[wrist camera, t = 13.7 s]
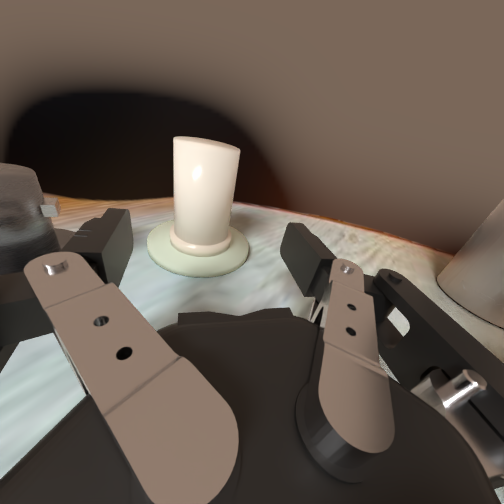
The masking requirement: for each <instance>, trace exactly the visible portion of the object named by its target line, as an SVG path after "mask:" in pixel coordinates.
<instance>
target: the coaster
mask: <svg viewBox="0 0 504 504" xmlns="http://www.w3.org/2000/svg"><path fill="white" fill-rule="evenodd" d="M173 224H174V220H171V221H168V222H165V223H162V224H160V225H158V226H157V227H155V228H154V229H153V230H152V231H151V232H150V233H149V235H148V238H147V247H148V253H149V256H150V257H151V259H152V260H153V261H154V262H155V263H156V264H157V265H159V266H160V267H162V268H163V269H165V270H167V271H170V272H172V273H175V274H178V275H183V276H188V277H199V278H205V277H216V276H221V275H225V274H228V273H230V272H233V271H235V270H236V269H238V268H239V267H240V266H242V265H243V263H244V262H245V261H246V258H247V254H248V250H249V244H248V241H247V239H246V238H245V236H244V235H243V234H242V233H241V232H239V231H238V230H236V229H235V228H233V227H231V226H229V230H230V231H231V235H232V236H231V242H230V247H229V248H228V250H227V251H225V252H224V253H222V254H220V255H216V256H212V257H195V256H190V255H186V254H184V253H181V252H179V251H178V250H176V249H175V248H174V247H173V246H172V245H171V243H170V227H171V226H172V225H173Z"/></svg>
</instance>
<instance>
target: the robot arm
mask: <svg viewBox="0 0 504 504" xmlns="http://www.w3.org/2000/svg"><path fill="white" fill-rule="evenodd" d="M132 251H133V235H132V227H131V218H130V212H129V210H128V209H116V208H108V209H107V211H106V212H105V213H104V215H103V216H102V217H101V218H93V219H91V220H89V221H87V222H85V223H84V224H83V225H82V226H81V227H80V229H79V231H77V232H76V233H75V234H74V236H73V237H72V238H71V239H70V240H69V241H68V242H67V244H66V245H65V246H64V247H63V248H62V249H61V251H60V252H55V253H50V254H46V255H42V256H40V257H37V258H35V259H33V260H32V261H30V262H29V263H28V264H27V265H26V266H25V268H24V271H23V272H18V273H11V274H5V275H0V373H1V371H2V369H3V368H4V366H5V365H6V363H7V361H8V360H9V358H10V357H11V355H12V353H13V352H14V350H15V349H16V347H17V345H18V344H19V342H21V341H24V340H28V339H31V338H35V337H39V336H42V335H46V334H49V333H54V335H55V337H56V339H57V341H58V343H59V345H60V347H61V349H62V351H63V352H64V354H65V356H66V358H67V360H68V362H69V364H70V366H71V368H72V370H73V371H74V373H75V375H76V377H77V379H78V381H79V383H80V385H81V387H82V389H83V391H84V393H85V395H86V396H85V397H84V398H83V399H82V400H81V401H80V402H79V403H78V404H77V405H76V406H75V407H74V408H73V409H72V410H71V411H70V412H69V413H68V414H67V415H66V416H65V417H64V418H63V419H62V420H61V421H60V422H59V423H58V424H57V425H56V426H55V427H54V428H53V429H52V430H51V431H49V432H48V433H47V434H46V435H45V436H44V437H43V438H42V439H41V440H40V441H39V442H38V443H37V444H36V445H35V446H34V447H33V448H32V449H31V450H30V451H29V452H28V453H27V454H26V455H25V456H24V457H23V458H22V459H21V460H20V461H19V462H18V463H17V464H16V465H15V466H14V467H13V468H12V469H11V470H10V471H9V472H7V473H6V474H5V475H4V476H3V477H2V478H1V479H0V504H501V502H500V500H499V499H498V497H497V495H496V493H495V490H494V489H496V488H499V487H502V486H504V364H503V363H502V362H501V361H500V360H499V359H498V358H497V357H495V356H494V355H493V354H492V353H491V352H490V351H489V350H487V349H486V348H485V347H484V346H483V345H482V344H481V343H480V342H478V341H477V340H476V339H475V338H474V337H473V336H472V335H470V334H469V333H468V332H467V331H466V330H465V329H464V328H462V327H461V326H460V325H459V324H458V323H457V322H456V321H454V320H453V319H452V318H451V317H450V316H449V315H448V314H446V313H445V312H444V311H443V310H442V309H441V308H440V307H438V306H437V305H436V304H435V303H434V302H433V301H432V300H431V299H429V298H428V297H427V296H426V295H425V294H424V293H423V292H421V291H420V290H419V289H418V288H417V287H416V286H415V285H413V284H412V283H411V282H410V281H409V280H408V279H407V278H405V277H404V276H403V275H401V274H399V273H397V272H395V271H393V270H389V269H380V270H379V271H378V273H377V275H376V276H375V277H374V276H370V275H365V274H363V271H362V269H361V268H360V267H359V266H358V265H356V264H355V263H353V262H351V261H348V260H345V259H337V257H336V256H335V255H334V254H333V253H332V252H331V251H330V250H329V249H328V248H327V247H326V246H325V245H324V243H322V241H321V240H320V239H319V238H318V237H317V236H315V235H314V234H312V233H311V232H310V231H309V230H308V228H307V227H306V226H305V225H304V224H303V223H291V222H290V223H289V224H288V225H287V227H286V231H285V234H284V237H283V240H282V243H281V247H280V254H281V257H282V259H283V260H284V262H285V264H286V266H287V267H288V269H289V271H290V273H291V274H292V276H293V278H294V279H295V281H296V283H297V285H298V286H299V288H300V290H301V292H302V293H303V295H304V297H314V296H315V300H314V302H313V304H312V308H311V312H310V315H309V319H308V320H306V319H303V318H300V317H296V316H293V314H292V312H291V310H290V308H270V309H263V310H259V311H256V312H253V313H249V314H246V315H242V316H234V315H228V314H221V313H215V312H191V313H178V323H175V324H171V325H169V326H166V327H164V328H162V329H160V330H158V331H155V330H154V328H153V327H152V326H151V325H150V324H149V323H148V322H147V320H146V319H145V318H144V317H143V316H142V315H141V314H140V312H139V311H138V310H137V309H136V308H135V307H134V306H133V304H132V303H131V302H130V301H129V300H128V299H127V298H126V296H125V295H124V294H123V293H122V292H121V291H120V290H119V288H118V287H119V285H120V282H121V280H122V277H123V274H124V272H125V269H126V267H127V264H128V261H129V259H130V256H131V254H132ZM437 282H438V284H439V285H440V287H441V288H442V289H443V290H444V291H445V292H446V293H447V294H448V295H449V296H450V297H451V298H452V299H454V300H455V301H456V302H457V303H459V304H460V305H462V306H463V307H465V308H466V309H468V310H469V311H471V312H472V313H474V314H476V315H477V316H479V317H481V318H483V319H485V320H487V321H489V322H490V323H492V324H495V325H497V326H499V327H501V328H504V199H503V200H502V201H501V202H500V203H499V205H498V206H497V207H496V208H495V209H494V211H493V212H492V213H491V214H490V215H489V217H488V218H487V219H486V220H485V221H484V222H483V224H482V225H481V226H480V227H479V228H478V229H477V231H476V232H475V233H474V234H473V235H472V236H471V238H470V239H469V240H468V241H467V242H466V244H465V245H464V246H463V247H462V248H461V249H460V251H459V252H458V253H457V254H456V255H455V256H454V257H453V259H452V260H451V261H450V262H449V263H448V265H447V266H446V267H445V268H444V269H443V271H442V272H441V273H440V274H439V275H438V277H437ZM395 307H396V308H397V309H398V310H399V311H400V312H401V313H402V314H403V315H404V316H405V317H406V318H407V320H408V321H409V324H410V329H409V331H408V333H407V334H406V335H405V336H404V337H403V336H402V335H401V333H400V332H399V331H398V330H397V329H396V328H395V326H394V325H393V324H392V323H391V322H390V320H389V319H388V318H387V317H388V316H389V314H390V313H391V312H392V311H393V309H394V308H395ZM378 353H379V354H380V356H381V357H382V358H383V360H384V361H385V363H386V364H387V366H388V367H389V369H390V370H391V372H392V373H393V374H394V376H395V377H396V379H397V380H398V382H399V383H400V384H399V383H398V382H397V381H395V380H394V379H392V378H391V377H390V376H388V375H387V373H386V372H385V370H383V369H382V368H381V366H380V363H379V354H378Z"/></svg>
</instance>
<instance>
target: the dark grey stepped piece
mask: <svg viewBox="0 0 504 504" xmlns="http://www.w3.org/2000/svg"><path fill="white" fill-rule="evenodd" d="M60 210H61V208H60V204H59V201H58V198H44V197H43V194H42V191H41V188H40V185H39V182H38V179H37V176H36V173H35V172H34V171H33V170H31V169H29V168H26V167H23V166H18V165H12V164H4V163H0V275H5V274H11V273H18V272H23V271H24V268H25V266H26V265H27V264H28V263H29V262H30V261H32V260H33V259H35V258H37V257H40V256H42V255H46V254H50V253H55V252H60V251H61V249H62V248H63V247H64V246H65V245H66V244H67V242H68V241H69V240H70V239H71V238H72V237H73V236H74V234H75V233H76V232H73V231H69V230H64V229H57V228H54V226H53V223H52V220H51V217H58V216H59V213H60Z"/></svg>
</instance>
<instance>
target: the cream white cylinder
mask: <svg viewBox="0 0 504 504" xmlns="http://www.w3.org/2000/svg"><path fill="white" fill-rule="evenodd" d="M239 155H240V149H238V148H236V147H234V146H231V145H228V144H224V143H221V142H216V141H212V140H207V139H201V138H194V137H174V224H173V225H172V226H171V227H170V243H171V245H172V246H173V247H174V248H175V249H176V250H178V251H179V252H181V253H184V254H186V255H190V256H195V257H212V256H216V255H220V254H222V253H224V252H225V251H227V250H228V248H229V247H230V242H231V236H232V235H231V231H230V230H229V222H230V216H231V209H232V202H233V195H234V189H235V182H236V175H237V168H238V161H239Z"/></svg>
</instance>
